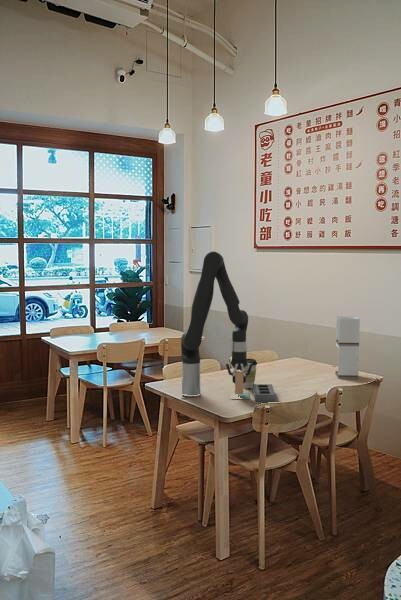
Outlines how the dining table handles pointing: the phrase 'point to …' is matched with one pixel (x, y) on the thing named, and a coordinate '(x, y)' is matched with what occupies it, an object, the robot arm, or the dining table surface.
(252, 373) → the coffee cup
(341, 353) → the white banded pillar
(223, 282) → the robot arm
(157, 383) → the dining table surface
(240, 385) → the terracotta peg
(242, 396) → the green mat
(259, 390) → the grey socket block
